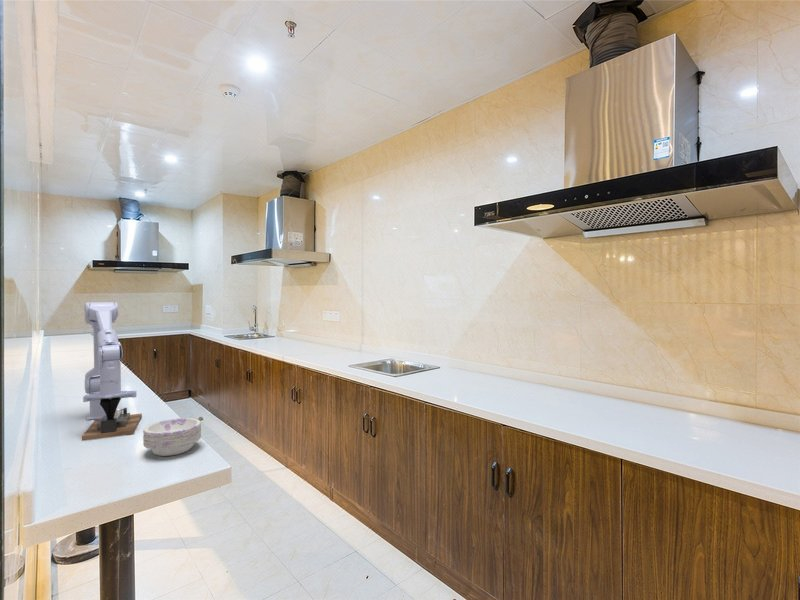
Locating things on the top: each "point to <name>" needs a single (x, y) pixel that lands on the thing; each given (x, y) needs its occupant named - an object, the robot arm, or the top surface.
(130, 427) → the board
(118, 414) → the grey flat bar
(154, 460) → the top surface
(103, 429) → the clamp block
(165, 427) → the paper bowls
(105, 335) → the robot arm
